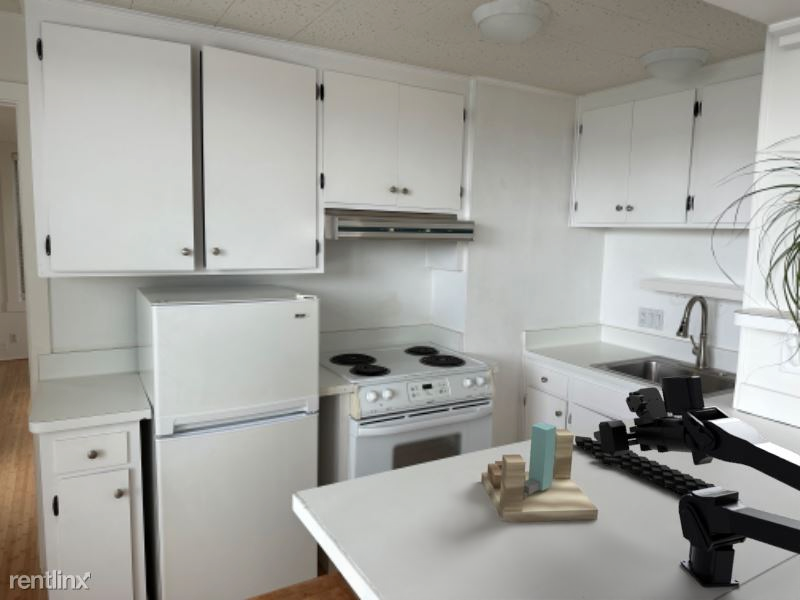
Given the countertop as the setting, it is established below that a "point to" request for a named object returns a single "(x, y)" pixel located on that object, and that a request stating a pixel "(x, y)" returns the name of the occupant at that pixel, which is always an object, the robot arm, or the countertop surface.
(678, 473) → the black segmented strip
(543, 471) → the folding leg
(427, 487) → the countertop surface
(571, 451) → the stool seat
